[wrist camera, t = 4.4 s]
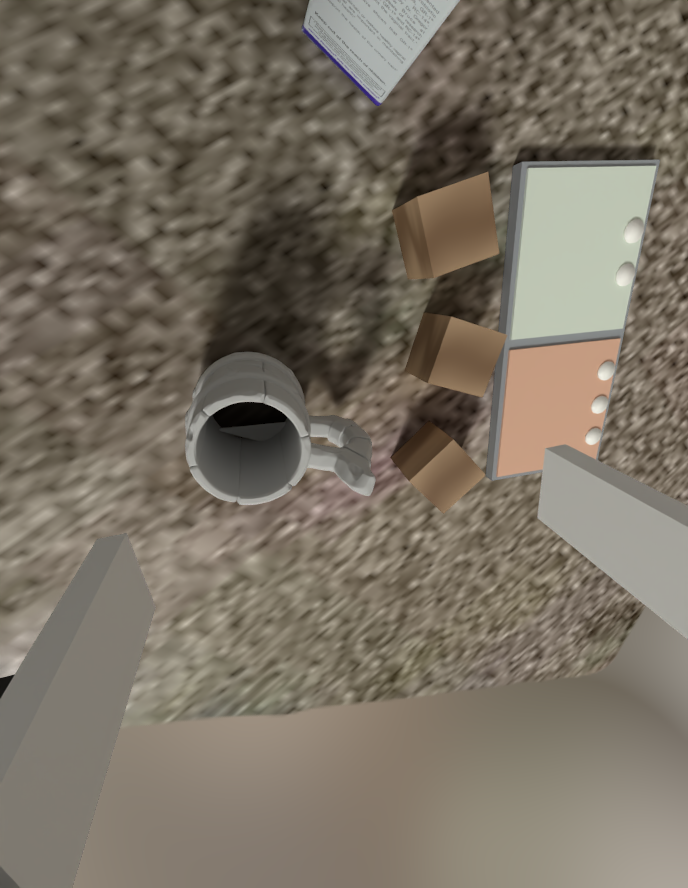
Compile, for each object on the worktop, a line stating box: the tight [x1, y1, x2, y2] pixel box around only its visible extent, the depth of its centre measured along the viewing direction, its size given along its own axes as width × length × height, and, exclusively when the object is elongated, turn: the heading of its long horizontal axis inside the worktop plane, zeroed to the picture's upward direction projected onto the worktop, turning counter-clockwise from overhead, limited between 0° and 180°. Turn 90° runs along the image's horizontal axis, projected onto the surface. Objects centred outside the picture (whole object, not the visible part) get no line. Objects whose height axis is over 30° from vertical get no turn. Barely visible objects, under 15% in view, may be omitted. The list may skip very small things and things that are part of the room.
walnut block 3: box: [391, 421, 485, 514], centre depth 32 cm, size 4×4×4 cm
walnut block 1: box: [392, 172, 499, 279], centre depth 25 cm, size 4×4×4 cm
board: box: [486, 160, 660, 481], centre depth 32 cm, size 24×11×1 cm, turn 3°
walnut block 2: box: [405, 312, 507, 397], centre depth 29 cm, size 4×4×4 cm
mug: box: [185, 352, 376, 505], centre depth 24 cm, size 8×12×12 cm, turn 75°
